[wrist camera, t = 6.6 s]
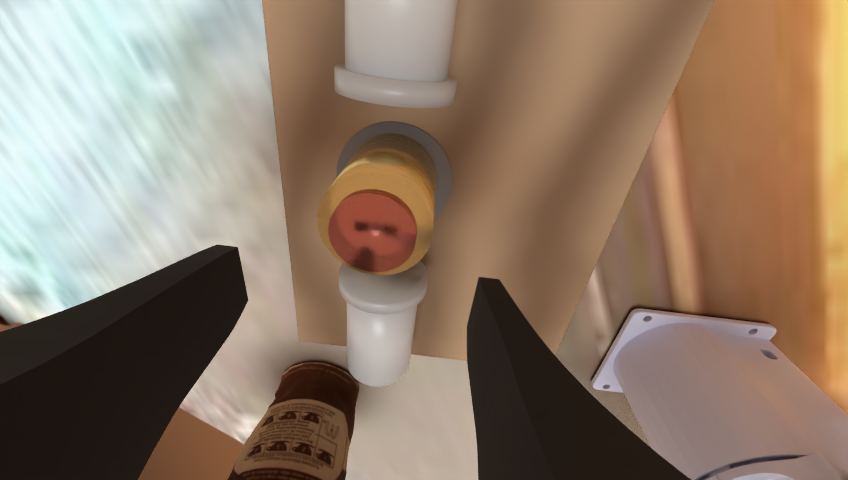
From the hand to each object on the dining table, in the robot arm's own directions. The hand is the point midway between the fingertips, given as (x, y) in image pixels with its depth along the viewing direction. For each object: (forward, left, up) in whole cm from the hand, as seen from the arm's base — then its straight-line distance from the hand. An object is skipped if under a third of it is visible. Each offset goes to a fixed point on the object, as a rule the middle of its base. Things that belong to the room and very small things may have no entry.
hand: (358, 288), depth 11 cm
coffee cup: (+5, +19, -10) cm, 22 cm away
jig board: (-3, 0, -10) cm, 10 cm away
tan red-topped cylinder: (0, 0, -9) cm, 9 cm away
